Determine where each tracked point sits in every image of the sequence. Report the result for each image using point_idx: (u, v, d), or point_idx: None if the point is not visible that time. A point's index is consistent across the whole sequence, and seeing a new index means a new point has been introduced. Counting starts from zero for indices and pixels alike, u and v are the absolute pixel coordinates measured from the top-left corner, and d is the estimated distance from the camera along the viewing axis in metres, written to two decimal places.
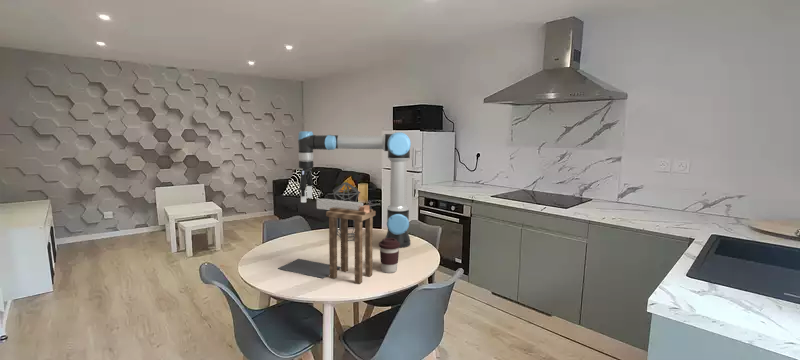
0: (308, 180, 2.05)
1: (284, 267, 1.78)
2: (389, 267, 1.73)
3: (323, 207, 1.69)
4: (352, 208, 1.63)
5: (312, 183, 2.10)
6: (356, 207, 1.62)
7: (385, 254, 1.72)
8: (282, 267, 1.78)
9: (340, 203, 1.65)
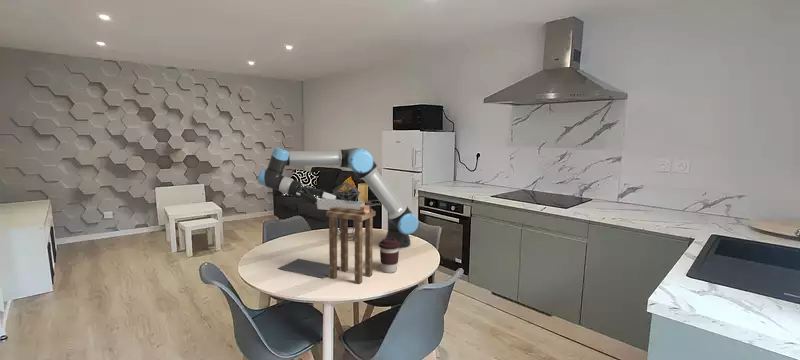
0: (315, 192, 1.85)
1: (284, 267, 1.78)
2: (389, 267, 1.73)
3: (324, 207, 1.68)
4: (354, 208, 1.62)
5: (322, 190, 1.90)
6: (358, 207, 1.62)
7: (385, 254, 1.72)
8: (282, 267, 1.78)
9: (341, 203, 1.64)
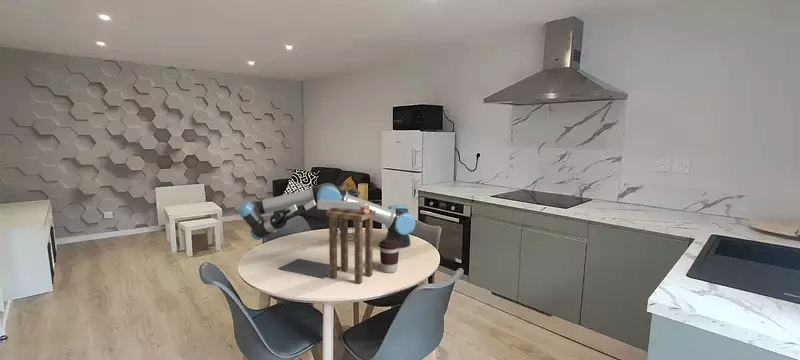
0: (297, 211, 1.84)
1: (284, 267, 1.78)
2: (389, 267, 1.73)
3: (324, 207, 1.68)
4: (354, 208, 1.63)
5: None
6: (358, 207, 1.62)
7: (385, 254, 1.72)
8: (282, 267, 1.78)
9: (342, 203, 1.65)
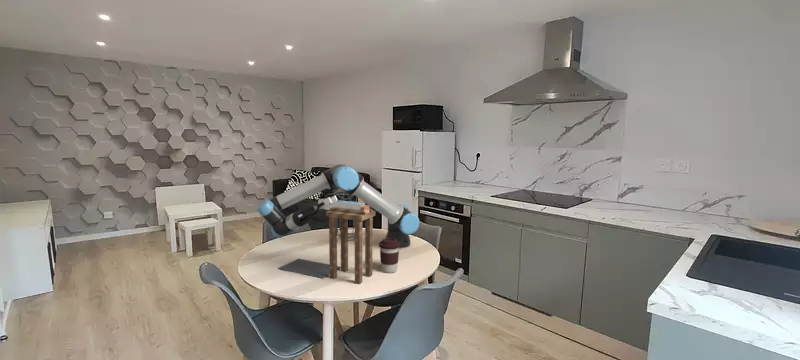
0: None
1: (284, 267, 1.78)
2: (389, 267, 1.73)
3: (325, 207, 1.69)
4: (354, 208, 1.62)
5: None
6: (358, 207, 1.61)
7: (385, 254, 1.72)
8: (282, 267, 1.78)
9: (342, 203, 1.65)
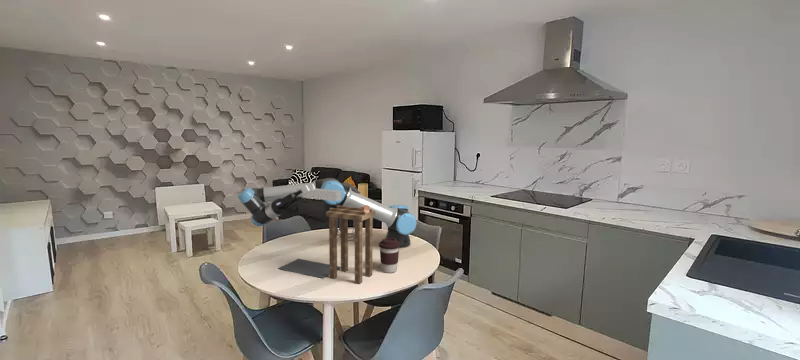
0: None
1: (284, 267, 1.78)
2: (389, 267, 1.73)
3: (302, 195, 1.72)
4: (330, 196, 1.66)
5: None
6: (334, 194, 1.65)
7: (385, 254, 1.72)
8: (282, 267, 1.78)
9: (319, 191, 1.68)
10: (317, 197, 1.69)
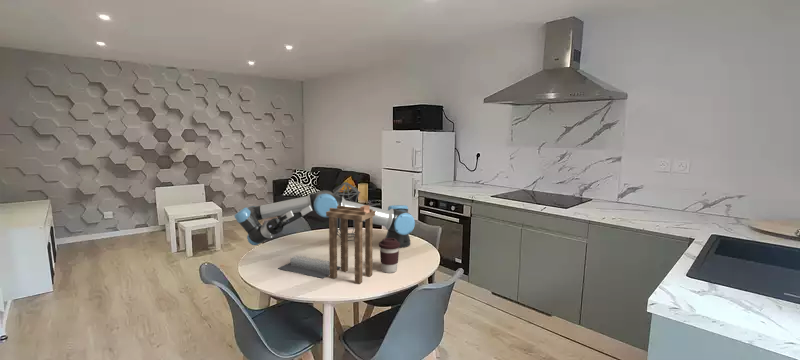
0: (293, 217, 1.85)
1: (284, 267, 1.78)
2: (389, 267, 1.73)
3: (297, 265, 1.79)
4: (323, 268, 1.73)
5: None
6: (327, 267, 1.72)
7: (385, 254, 1.72)
8: (282, 267, 1.78)
9: (312, 263, 1.75)
10: (311, 268, 1.76)
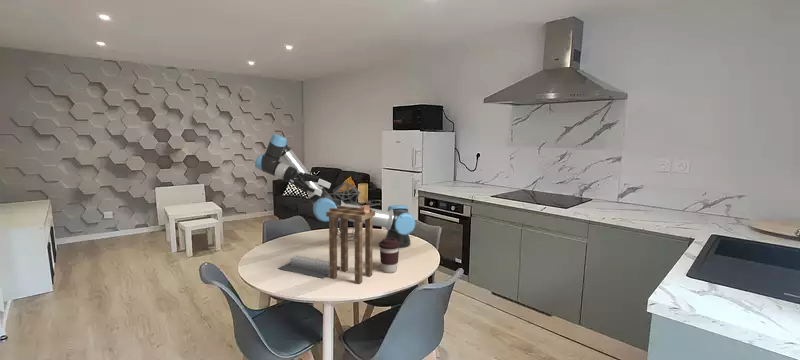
0: (310, 179, 1.90)
1: (284, 267, 1.78)
2: (389, 267, 1.73)
3: (297, 265, 1.79)
4: (323, 268, 1.73)
5: (318, 177, 1.93)
6: (327, 267, 1.72)
7: (385, 254, 1.72)
8: (282, 267, 1.78)
9: (312, 263, 1.75)
10: (311, 268, 1.76)
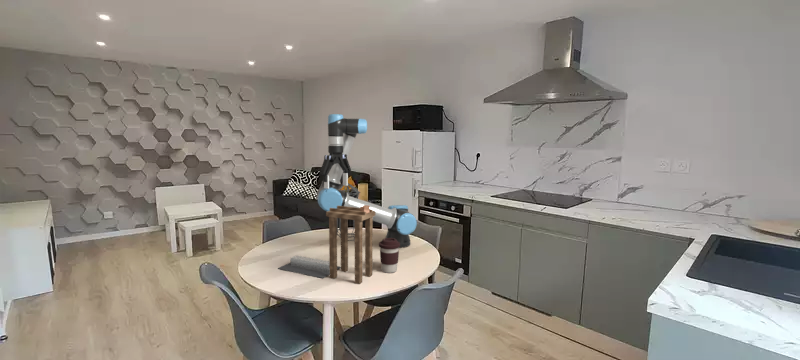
0: (342, 166, 1.95)
1: (284, 267, 1.78)
2: (389, 267, 1.73)
3: (297, 265, 1.79)
4: (323, 268, 1.73)
5: (349, 170, 1.98)
6: (327, 267, 1.72)
7: (385, 254, 1.72)
8: (282, 267, 1.78)
9: (312, 263, 1.75)
10: (311, 268, 1.76)
